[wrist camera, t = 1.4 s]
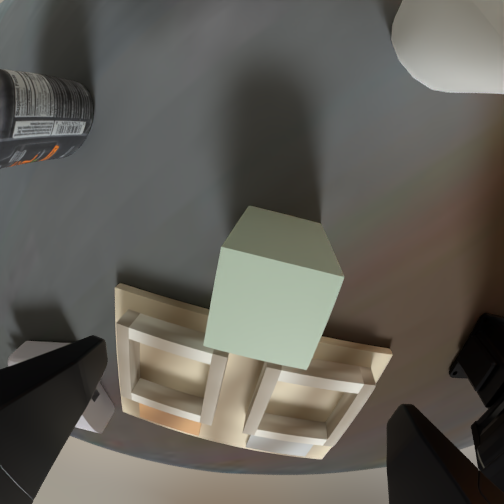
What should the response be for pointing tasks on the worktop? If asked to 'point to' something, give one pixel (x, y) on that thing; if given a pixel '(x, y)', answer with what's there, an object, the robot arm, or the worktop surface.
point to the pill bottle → (41, 117)
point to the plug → (273, 289)
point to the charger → (100, 402)
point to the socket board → (235, 381)
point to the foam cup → (452, 44)
